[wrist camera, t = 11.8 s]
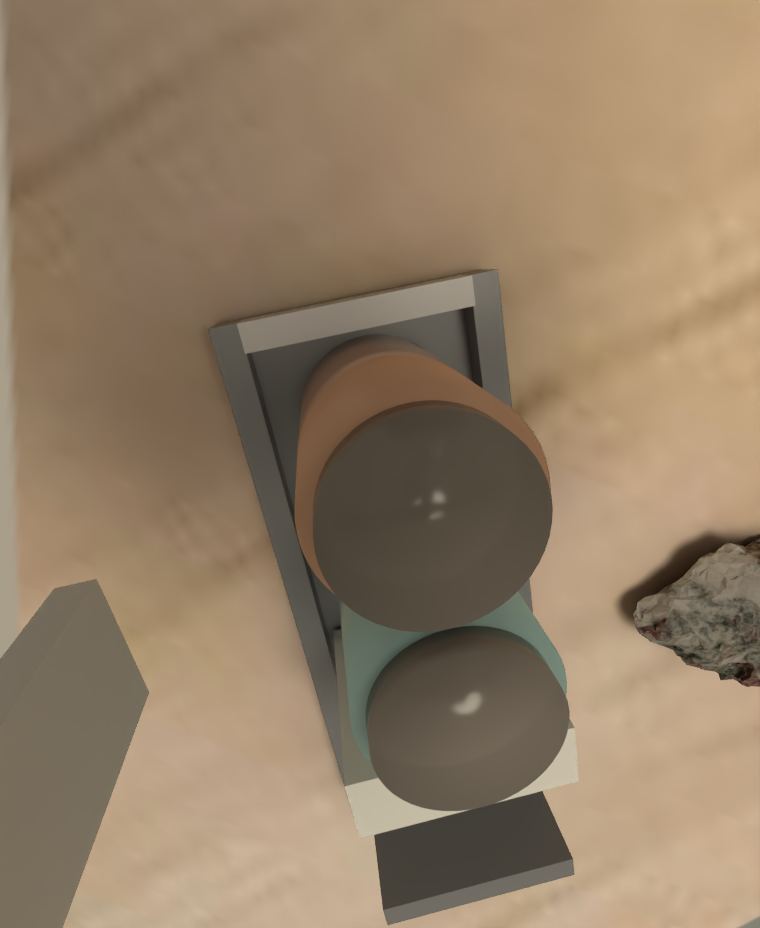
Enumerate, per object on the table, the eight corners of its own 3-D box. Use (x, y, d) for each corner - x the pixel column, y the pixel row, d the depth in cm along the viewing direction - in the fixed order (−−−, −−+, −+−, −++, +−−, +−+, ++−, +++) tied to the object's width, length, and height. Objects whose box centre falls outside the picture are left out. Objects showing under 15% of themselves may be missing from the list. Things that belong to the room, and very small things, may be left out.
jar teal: (320, 498, 22) (330, 671, 12) (463, 467, 22) (578, 612, 13) (349, 619, 24) (376, 844, 14) (479, 589, 24) (588, 790, 15)
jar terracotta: (314, 496, 22) (320, 668, 12) (285, 347, 19) (265, 419, 10) (459, 471, 22) (571, 618, 13) (446, 322, 20) (568, 369, 11)
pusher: (333, 631, 24) (344, 786, 16) (495, 592, 24) (574, 727, 17) (344, 673, 24) (360, 838, 17) (501, 635, 25) (578, 781, 18)
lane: (216, 324, 19) (174, 349, 13) (481, 269, 20) (559, 269, 14) (351, 786, 28) (363, 931, 22) (534, 739, 29) (596, 868, 22)
